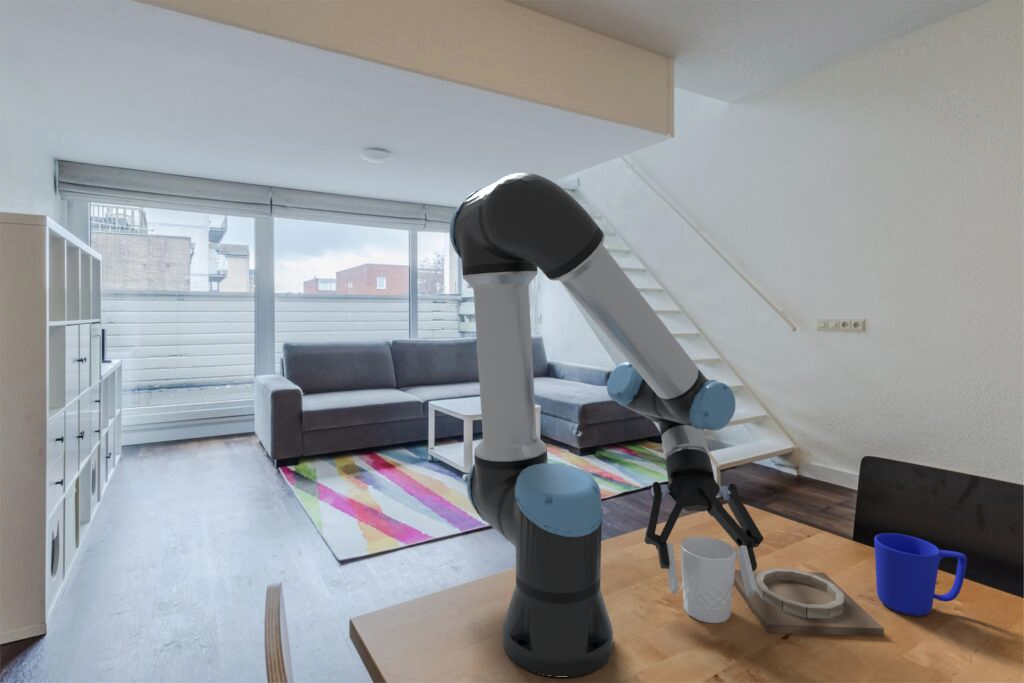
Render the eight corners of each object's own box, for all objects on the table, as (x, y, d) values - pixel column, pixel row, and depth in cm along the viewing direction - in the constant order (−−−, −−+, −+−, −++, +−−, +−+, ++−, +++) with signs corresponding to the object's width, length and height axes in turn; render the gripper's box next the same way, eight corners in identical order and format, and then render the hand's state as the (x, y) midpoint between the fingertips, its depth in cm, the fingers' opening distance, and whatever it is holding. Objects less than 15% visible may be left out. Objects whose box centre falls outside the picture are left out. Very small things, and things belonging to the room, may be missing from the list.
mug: (980, 628, 77) (983, 560, 77) (886, 618, 80) (889, 553, 79) (946, 598, 85) (949, 537, 85) (862, 590, 88) (865, 530, 87)
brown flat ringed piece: (767, 632, 76) (767, 614, 76) (728, 576, 92) (728, 561, 92) (883, 636, 75) (884, 618, 75) (823, 579, 91) (824, 564, 91)
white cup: (738, 606, 82) (740, 544, 82) (728, 632, 76) (730, 564, 75) (686, 592, 87) (688, 532, 86) (673, 615, 80) (674, 550, 80)
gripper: (747, 469, 95) (784, 602, 80) (618, 467, 96) (631, 597, 82) (760, 448, 89) (803, 586, 75) (623, 445, 91) (637, 581, 76)
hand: (713, 592), depth 78 cm, fingers open, 10 cm apart
